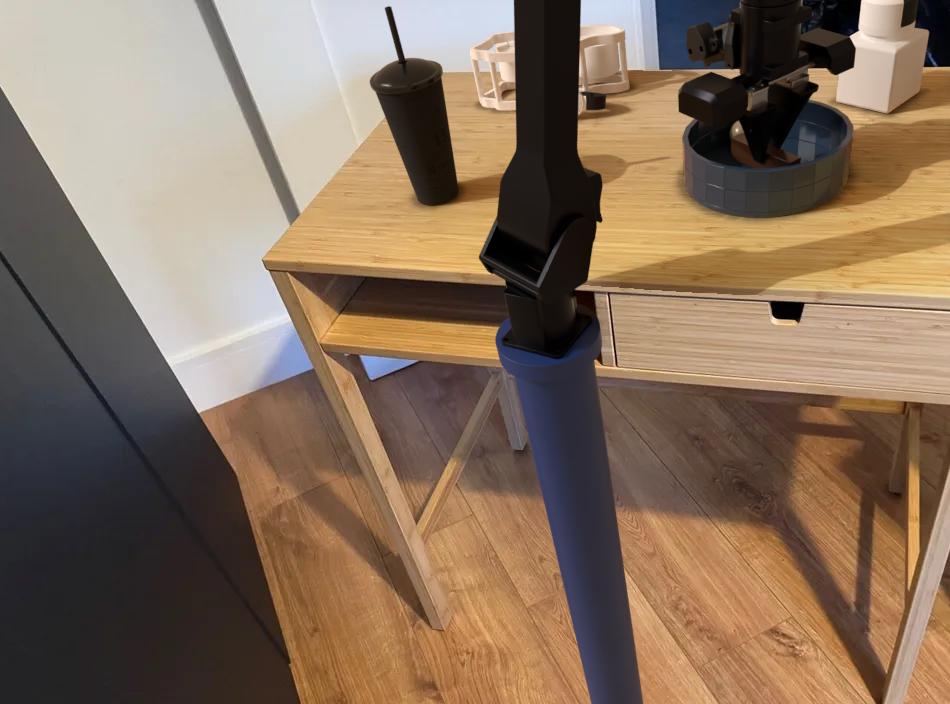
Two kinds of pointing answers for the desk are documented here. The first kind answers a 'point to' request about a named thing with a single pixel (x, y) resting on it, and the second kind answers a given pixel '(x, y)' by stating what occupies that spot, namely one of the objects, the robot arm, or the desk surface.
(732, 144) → the brown rectangular block
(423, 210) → the desk surface
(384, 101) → the drinking cup
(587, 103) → the watch
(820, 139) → the bowl
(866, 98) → the medicine bottle
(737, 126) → the bead
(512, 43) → the skeletal toy car
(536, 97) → the robot arm
